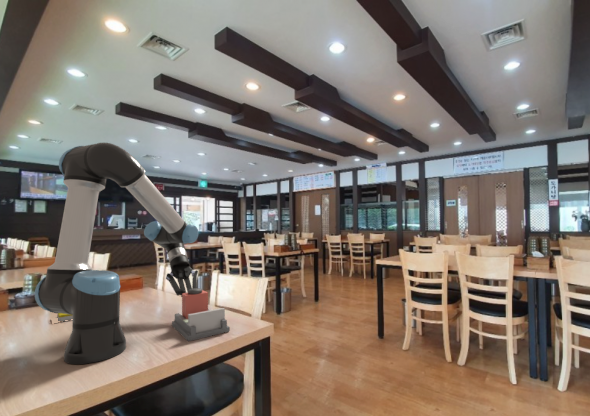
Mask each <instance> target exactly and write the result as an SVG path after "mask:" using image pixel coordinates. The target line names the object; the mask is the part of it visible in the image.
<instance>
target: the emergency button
mask: <svg viewBox="0 0 590 416" xmlns="http://www.w3.org/2000/svg"><path fill="white" fill-rule="evenodd" d="M56 314H57V317H56V318H58V321H65V320H71V319H73V315H71V314H63V313H56Z"/></svg>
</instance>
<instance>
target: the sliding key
mask: <svg viewBox="0 0 590 416" xmlns="http://www.w3.org/2000/svg"><path fill="white" fill-rule="evenodd" d="M208 309H209V291H208V292H207V291H206V290H203V289H202V288H201V287H200V288H198V287H197V288H194V289H189V290H188V293H182V297H181V315H182V316H183V317H184V318H186V319H188V314H193V313H198V312H203V311H208Z"/></svg>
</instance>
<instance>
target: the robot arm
mask: <svg viewBox="0 0 590 416" xmlns="http://www.w3.org/2000/svg"><path fill="white" fill-rule="evenodd" d="M58 168H59V171H60V172H61V173H62V174H61V175H62V176H63V181H62V182H63V183H64V185H65V186H66V187H67V192H66V199H65V204H64V208H63V209H64V210H63V215H62V220H61V226H60V231H59V238H58V244H57V246H56V247H57V249H56V253H55V260H54V263H52V264H51V265H50V266H48V267H47V269H46V275H45V276H44V277H43V278H42V279H41V280H40V281H39V282H38V283H37V284H36V287H35V290H34V300H35V302H36V304H37V305H38V306H39V307H40V309H42V310H45V311H47V312H50V313H53V314H57V313H63V314H71V315H73V320H72V321H71V322H72V325H71V326H72V328H71V332H70V336H69V338H68V341H67V343H66V346H65V349H64V353H63V354H64V355H63V356H64V357H63V361H64V362H65V363H67V364H71V365H85V364H91V363H97V362H102V361H105V360H108V359H110V358H111V359H112V358H113V357H115V356H118V355H120V354H121V353H123V352H124V351H125V350H126V349H127V339H126V336H125V333H124V331H123V329H122V326H121V325H122V324H121V322H120V314H121V313H120V312H121V311H120V310H121V309H120V306H121V305H120V302H121V283H120V282H121V281H120V275H119V274H118V273H117V272H114V271H111V270H104V269H102V270H99V269H93V268H92V267H91V266H90V265H89V259H90V258H89V257H90V253H91V252H90V251H91V244H92V240H93V239H92V238H93V232H94V225H95V219H96V214H97V207H98V199H99V195H100V193H101V191H103V190H105V189H106V185H107V180H108V179H110V180H111V181H113V182H115V183H116V184H117V185H118V186H119V187H120V188H125V189H126V190H127V191H128V192H129V193H130V194H131V195H132V197H133V198H135V199H136V200H137V201H138V202H139V204H140V205H141V206H142V207H144V209H145V210H146V211H147V212H148V213H149V214H150V215H151V216H152V218H154V219H155V220H156V221H151V222H149V223H148V224H147V225H145V228H144V229H143V235H144V237H145V238H147V239H148V240H149V241H150V242H152V243H154V244H156V245H158V246H159V247H161V248H163V249H165V250H166V254H167V258H168V261H169V267H170V273H167V274H166V276H165V280H167V281H168V282H169V283H170V285H171V287H172V289H173V291H174V292H175V295H176V296H180V297H181V298H182V293H188V290H189V289H194V288H198V286H197V284H198V283H197V282H198V280H197V278H198V277H197V276H198V274H199V270H197V269H196V270H193V268H191V265H190V262H189V259H188V253H187V251H186V248H185V244H192V243H195V242H196V241H197V240H198V237H199V229H198V227H197V226H196V225H195V224H192V223H191V224H189V223H186V221H185V220H184V219H183V218H182V217H181V215H180V214H179V213H178V212H177V210H175V208H174V207H173V205H171V203H170V202H169V201H168V200H167V199H166V197H165V196H164V195H163V194H162V192H160V190H159V189H158V188H157V187H156V185H154V184H153V182H152V181H151V180H150V179H149V178H148V176H147V174H145V173H146V170H145V167H143V166H142V165H141V163H140V162H139V161H138V160H137V159H136V158H135V157H134V156H132V154H130V153H129V152H127V150H125V149H123V148H122V147H120V146H118V145H116V144H114V143H111V142H98V143H92V144H88V145H78V146H74V147H73V148H69V149H67V150H66V151H65V152H63V153H62V154H61V156H60V158H59V162H58ZM190 276H191V277H192V283H191V280H190ZM175 279H177V281H176V280H175ZM186 290H187V291H186Z"/></svg>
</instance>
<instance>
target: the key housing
mask: <svg viewBox="0 0 590 416" xmlns="http://www.w3.org/2000/svg"><path fill="white" fill-rule="evenodd" d="M225 311H226V308H224V307H222V308H215V309H209V308H208V311H203V312H198V313H193V314H188V319H186V318H184V317H183V316H182V313H180V312H178V313H174V320H172V321H171V326H172V327H173V328H174V329H175V330H176V331H177V332H178V334H180V335H181V336H182V337H183V338H184V339H185V340H186V341H187V342H191V341H196V340H199V339H205V338H208V337H211V336H212V335H213V336H216V335H221V334H225V333H228V332H229V331H231V330H230V326H229V325H228V320H227V319H226V313H225ZM224 332H225V333H224ZM220 333H221V334H220Z"/></svg>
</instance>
